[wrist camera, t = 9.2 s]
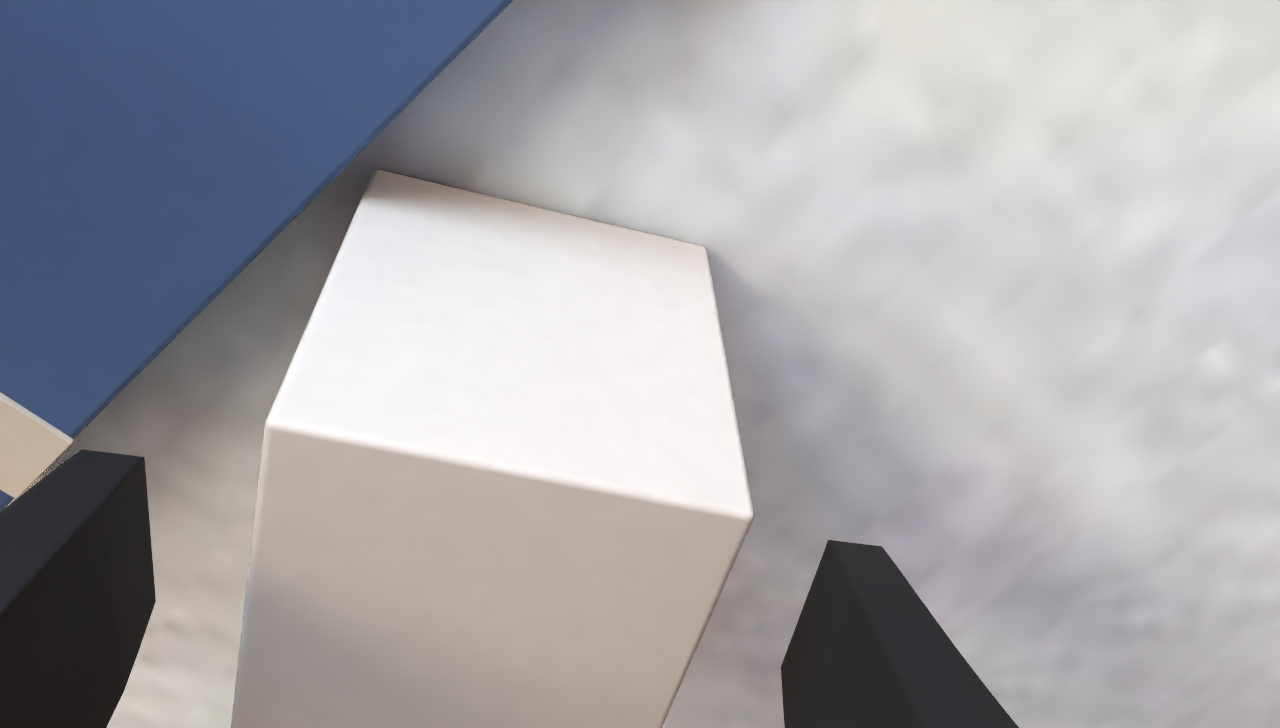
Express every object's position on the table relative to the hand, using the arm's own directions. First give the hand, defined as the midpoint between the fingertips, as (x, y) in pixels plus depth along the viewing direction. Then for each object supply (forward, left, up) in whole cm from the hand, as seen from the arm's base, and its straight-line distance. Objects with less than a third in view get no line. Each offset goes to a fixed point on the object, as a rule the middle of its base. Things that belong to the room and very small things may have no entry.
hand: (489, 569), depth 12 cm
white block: (0, 0, -4) cm, 5 cm away
